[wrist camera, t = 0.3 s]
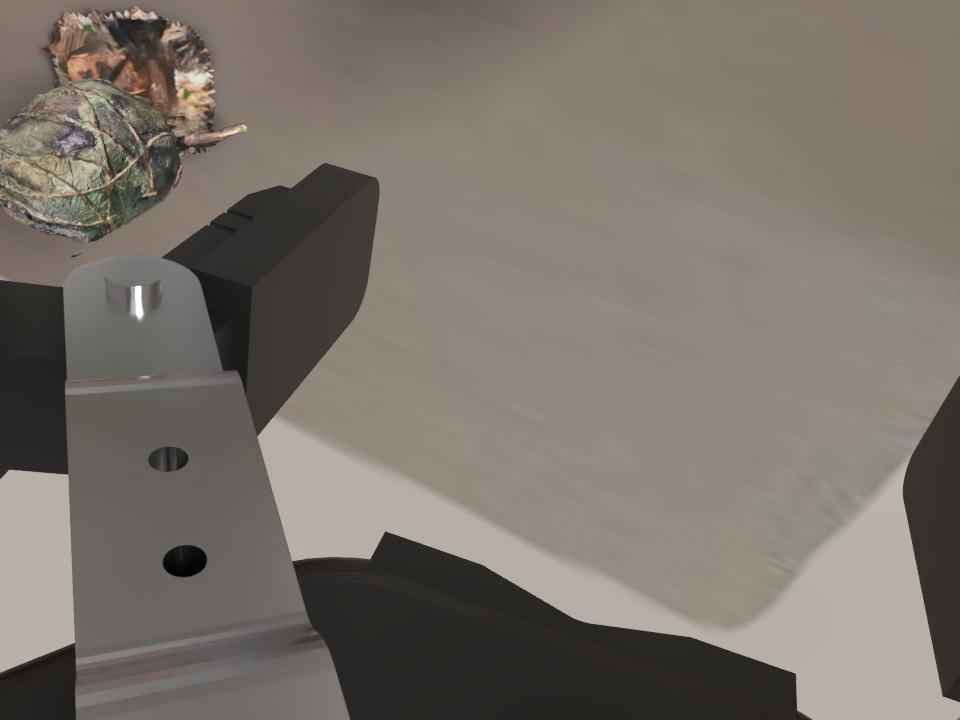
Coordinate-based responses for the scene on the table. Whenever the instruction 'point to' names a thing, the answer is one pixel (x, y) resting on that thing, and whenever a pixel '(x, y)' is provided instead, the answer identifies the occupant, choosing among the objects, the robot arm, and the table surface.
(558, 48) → the table surface
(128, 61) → the plant with pod
